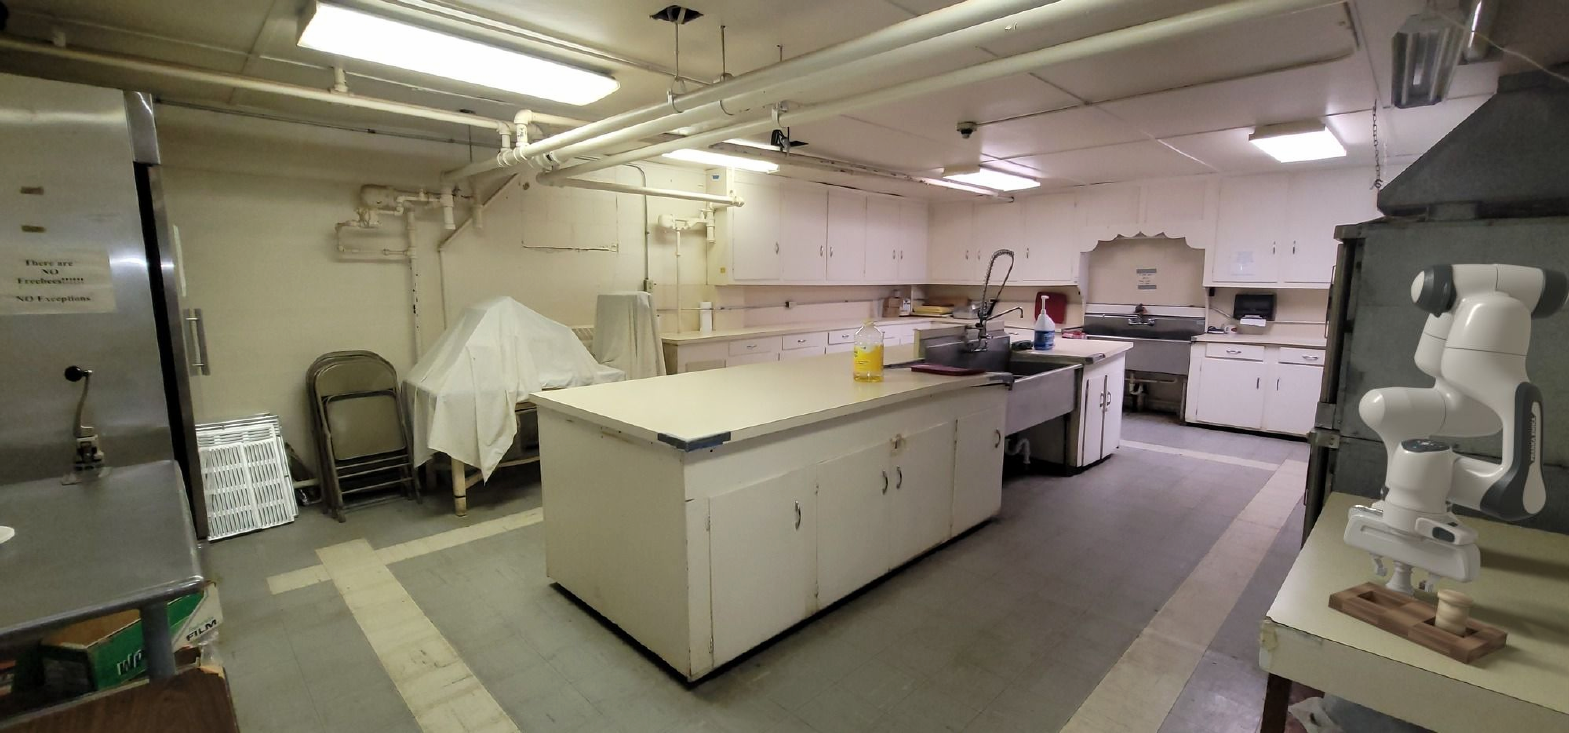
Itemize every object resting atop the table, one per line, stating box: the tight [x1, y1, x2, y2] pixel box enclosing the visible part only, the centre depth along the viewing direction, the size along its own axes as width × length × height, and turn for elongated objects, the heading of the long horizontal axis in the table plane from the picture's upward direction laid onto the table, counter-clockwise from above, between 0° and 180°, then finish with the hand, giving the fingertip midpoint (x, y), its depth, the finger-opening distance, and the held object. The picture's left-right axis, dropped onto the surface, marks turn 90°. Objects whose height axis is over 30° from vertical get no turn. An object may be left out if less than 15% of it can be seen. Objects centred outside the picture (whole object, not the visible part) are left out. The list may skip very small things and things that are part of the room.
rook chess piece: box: [1385, 560, 1415, 598], centre depth 129 cm, size 4×4×8 cm
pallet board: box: [1327, 581, 1509, 665], centre depth 118 cm, size 14×20×9 cm
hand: (1402, 582), depth 129 cm, fingers open, 6 cm apart
